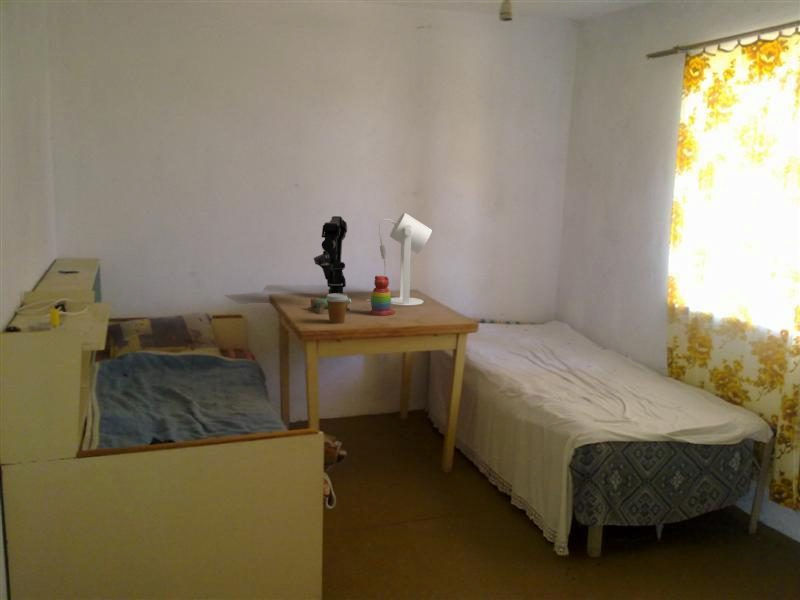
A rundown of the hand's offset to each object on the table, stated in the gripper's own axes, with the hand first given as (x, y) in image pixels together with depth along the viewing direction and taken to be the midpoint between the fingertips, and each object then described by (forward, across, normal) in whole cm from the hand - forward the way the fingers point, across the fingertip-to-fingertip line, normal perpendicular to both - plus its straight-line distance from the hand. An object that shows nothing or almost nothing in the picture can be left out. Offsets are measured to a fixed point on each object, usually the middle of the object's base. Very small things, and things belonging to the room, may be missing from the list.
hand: (331, 280), depth 318 cm
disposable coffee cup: (+12, +34, -14) cm, 39 cm away
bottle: (+11, +10, -3) cm, 15 cm away
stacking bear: (+12, +28, +12) cm, 33 cm away
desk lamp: (+12, +8, +34) cm, 37 cm away
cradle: (+12, +10, -6) cm, 17 cm away
